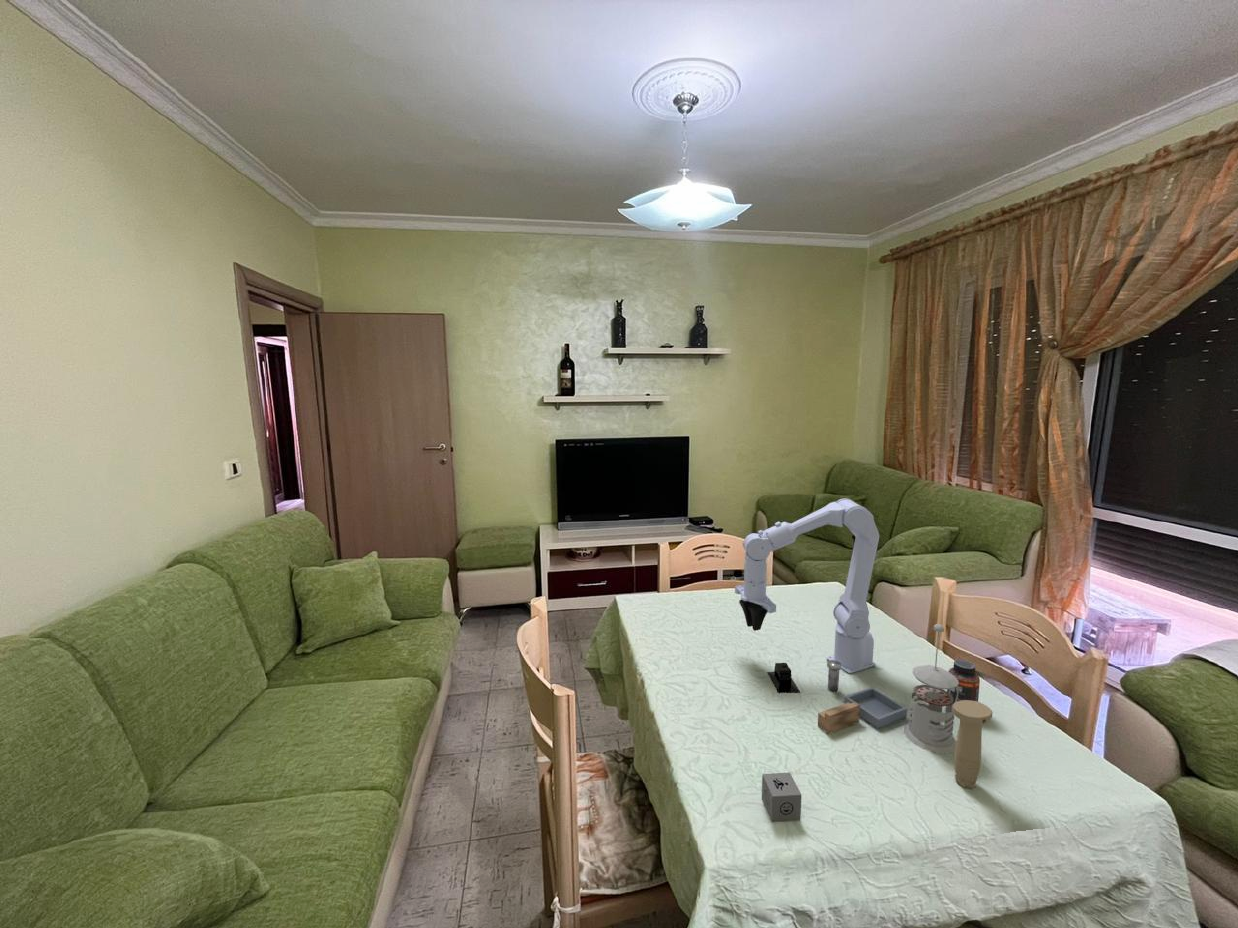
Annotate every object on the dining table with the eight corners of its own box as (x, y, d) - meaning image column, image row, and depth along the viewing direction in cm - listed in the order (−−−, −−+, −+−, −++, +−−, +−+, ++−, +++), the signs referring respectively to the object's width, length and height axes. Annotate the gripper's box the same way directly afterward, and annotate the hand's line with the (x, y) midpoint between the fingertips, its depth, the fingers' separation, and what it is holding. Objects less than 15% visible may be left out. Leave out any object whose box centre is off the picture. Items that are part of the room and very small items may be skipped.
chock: (847, 714, 113) (848, 697, 112) (859, 722, 110) (860, 704, 109) (817, 725, 109) (818, 707, 109) (828, 733, 106) (829, 715, 106)
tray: (871, 696, 119) (872, 686, 119) (906, 718, 111) (907, 708, 111) (843, 706, 116) (844, 696, 115) (877, 730, 107) (878, 719, 107)
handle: (939, 776, 94) (946, 703, 92) (967, 770, 96) (974, 697, 94) (962, 796, 90) (970, 719, 88) (991, 789, 91) (999, 713, 89)
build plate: (805, 698, 120) (806, 680, 119) (775, 699, 120) (776, 681, 119) (787, 669, 132) (788, 653, 131) (760, 670, 132) (760, 653, 131)
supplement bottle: (972, 704, 116) (976, 658, 114) (981, 720, 110) (985, 672, 108) (942, 699, 118) (946, 654, 116) (949, 715, 112) (953, 668, 110)
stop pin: (832, 684, 124) (834, 658, 123) (843, 691, 121) (844, 665, 120) (822, 687, 123) (824, 661, 122) (833, 694, 120) (834, 668, 119)
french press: (892, 728, 108) (900, 619, 104) (929, 714, 112) (937, 609, 109) (937, 759, 99) (947, 640, 95) (974, 742, 103) (985, 628, 100)
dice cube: (761, 798, 90) (762, 773, 89) (788, 797, 90) (789, 772, 89) (771, 822, 85) (772, 796, 84) (800, 820, 85) (801, 794, 85)
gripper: (726, 572, 138) (725, 619, 140) (761, 591, 124) (759, 642, 126) (747, 568, 140) (746, 614, 142) (783, 586, 127) (781, 637, 129)
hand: (753, 627), depth 135 cm, fingers closed
